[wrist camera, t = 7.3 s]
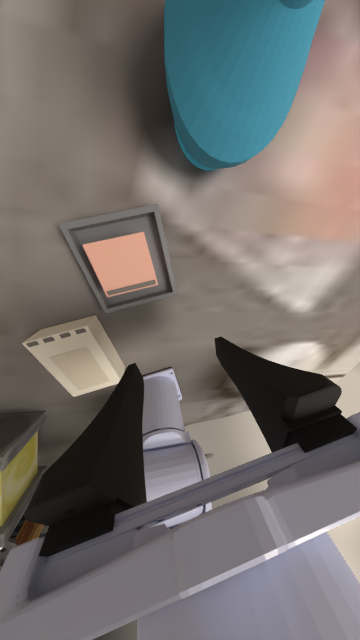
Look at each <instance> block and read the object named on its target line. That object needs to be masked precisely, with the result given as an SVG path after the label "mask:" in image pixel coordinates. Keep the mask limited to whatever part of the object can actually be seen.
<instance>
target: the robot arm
mask: <svg viewBox="0 0 360 640" xmlns="http://www.w3.org/2000/svg"><path fill="white" fill-rule="evenodd" d="M215 346H216V355H217V357H218V359H219V361H220V363H221V365H222V366H223V368H224V369H225V371H226V372H227V374H228V375H229V377H230V378H231V379H232V381H233V382H234V384H235V385H236V387H237V388H238V390H239V391H240V393H241V395H242V396H243V398H244V400H245V402H246V403H247V405H248V407H249V409H250V411H251V412H252V414H253V416H254V418H255V420H256V422H257V424H258V426H259V428H260V429H261V431H262V433H263V435H264V437H265V439H266V441H267V443H268V445H269V447H270V449H271V451H272V453H270V454H268V455H265V456H263V457H260V458H258V459H255V460H252V461H250V462H247V463H245V464H242V465H240V466H237V467H235V468H232V469H230V470H227V471H225V472H222V473H220V474H217V475H214V476H212V477H210V473H209V468H208V464H207V461H206V457H205V455H204V452H203V450H202V448H201V447H200V445H199V444H198V443H197V442H196V440H191V439H190V434H189V432H185V429H184V424H183V419H182V414H181V409H180V404H179V400H182V395H181V392H180V389H179V386H178V383H177V380H176V376H175V373H174V370H173V368H169V369H166V370H162V371H159V372H156V373H153V374H149V375H146V376H143V377H142V375H141V373H140V371H139V369H138V367H137V365H136V363H134V364H131V365H128V367H127V369H126V371H125V372H124V374H123V376H122V378H121V380H120V381H119V383H118V385H117V386H116V388H115V390H114V391H113V393H112V395H111V396H110V398H109V399H108V401H107V402H106V404H105V405H104V407H103V408H102V409H101V411H100V412H99V413H98V415H97V416H96V417H95V419H94V420H93V421H92V422H91V423H90V425H89V426H88V427H87V428H86V430H85V431H84V432H83V433H82V434H81V435H80V437H79V438H78V439H77V440H76V441H75V442H74V443H73V444H72V445H71V446H70V447H69V449H68V450H67V451H66V452H65V453H64V454H63V455H62V456H61V457H60V458H59V459H58V460H57V461H56V462H55V463H54V464H53V465H52V466H51V467H50V468H49V469H48V470H47V471H46V472H45V473H44V474H43V475H42V477H41V479H40V482H39V484H38V486H37V488H36V490H35V492H34V494H33V496H32V498H31V500H30V503H29V505H28V507H27V509H26V511H25V514H24V517H25V519H26V520H27V521H30V522H33V523H37V524H42V525H47V526H49V529H48V531H47V534H46V537H40V538H37V539H34V540H31V541H29V542H26V543H24V544H21V545H18V546H16V547H13V548H12V549H11V550H10V552H9V554H8V556H7V558H6V560H5V562H4V565H3V567H2V569H1V571H0V640H92V639H94V638H97V637H99V636H101V635H103V634H105V633H108V632H110V631H112V630H114V629H116V628H118V627H121V626H123V625H125V624H127V623H129V622H132V621H134V620H136V619H138V624H137V625H138V626H137V627H138V628H137V640H360V584H359V582H358V580H357V579H356V577H355V575H354V574H353V572H352V571H351V569H350V568H349V566H348V564H347V563H346V561H345V560H344V558H343V557H342V555H341V553H340V552H339V550H338V549H337V547H336V545H335V544H334V542H333V541H332V539H331V538H330V537H329V535H328V534H327V531H329V530H331V529H333V528H335V527H337V526H339V525H341V524H343V523H346V522H348V521H350V520H352V519H354V518H356V517H359V516H360V412H359V413H357V414H354V415H352V416H350V417H348V418H347V419H346V418H344V417H343V416H342V415H341V413H342V411H341V410H340V409H339V408H337V407H336V406H335V404H336V402H337V401H338V399H339V397H340V395H341V388H340V387H339V386H338V385H336V384H335V383H333V382H332V381H331V380H329V379H328V378H326V377H325V376H323V375H322V374H317V373H312V372H307V371H303V370H299V369H295V368H291V367H287V366H284V365H281V364H278V363H275V362H272V361H269V360H266V359H264V358H261V357H259V356H256V355H254V354H252V353H250V352H248V351H246V350H244V349H242V348H240V347H238V346H236V345H234V344H233V343H231V342H229V341H228V340H226V339H224V338H222V337H218V338H215ZM171 372H172V373H171ZM271 477H272V478H271ZM269 478H270V479H269ZM266 479H269V480H268V481H267V484H268V486H269V487H268V488H267V489H266V490H264V491H261V492H258V493H254V494H251V495H249V496H246V497H243V498H240V499H237V500H235V501H232V502H229V503H227V504H224V505H222V506H219V507H217V508H215V509H212V505H211V502H213V501H215V500H217V499H220V498H222V497H225V496H227V495H230V494H232V493H235V492H237V491H239V490H242V489H244V488H247V487H249V486H251V485H254V484H256V483H259V482H261V481H264V480H266Z"/></svg>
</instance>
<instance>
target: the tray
mask: <svg viewBox="0 0 360 640" xmlns="http://www.w3.org/2000/svg"><path fill="white" fill-rule="evenodd" d="M58 225H59V227H60V229H61V230H62V232H63V234H64V236H65V238H66V240H67V242H68V244H69V246H70V248H71V250H72V251H73V253H74V255H75V257H76V259H77V261H78V263H79V265H80V267H81V269H82V271H83V273H84V274H85V276H86V278H87V280H88V282H89V284H90V286H91V288H92V290H93V292H94V294H95V295H96V297H97V299H98V301H99V303H100V305H101V307H102V309H103V311H104V313H105V314H106V313H110V312H114V311H118V310H122V309H126V308H129V307H133V306H137V305H141V304H145V303H148V302H152V301H156V300H160V299H164V298H168V297H171V296H175V295H178V294H177V290H176V285H175V280H174V276H173V271H172V267H171V262H170V257H169V253H168V248H167V243H166V239H165V234H164V230H163V225H162V220H161V216H160V211H159V207H158V204H154V205H150V206H145V207H140V208H135V209H130V210H125V211H120V212H115V213H110V214H105V215H100V216H95V217H90V218H85V219H80V220H75V221H70V222H65V223H60V224H58ZM140 232H144V234H145V238H146V242H147V245H148V249H149V253H150V256H151V260H152V264H153V267H154V271H155V275H156V278H157V282H158V285H155V286H151V287H147V288H143V289H139V290H135V291H131V292H127V293H123V294H119V295H115V296H111V297H107V296H106V294H105V291H104V289H103V287H102V285H101V283H100V281H99V279H98V277H97V275H96V273H95V271H94V268H93V266H92V264H91V262H90V260H89V258H88V256H87V254H86V252H85V250H84V247H83V244H88V243H93V242H97V241H102V240H107V239H112V238H116V237H121V236H126V235H130V234H135V233H140Z"/></svg>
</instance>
